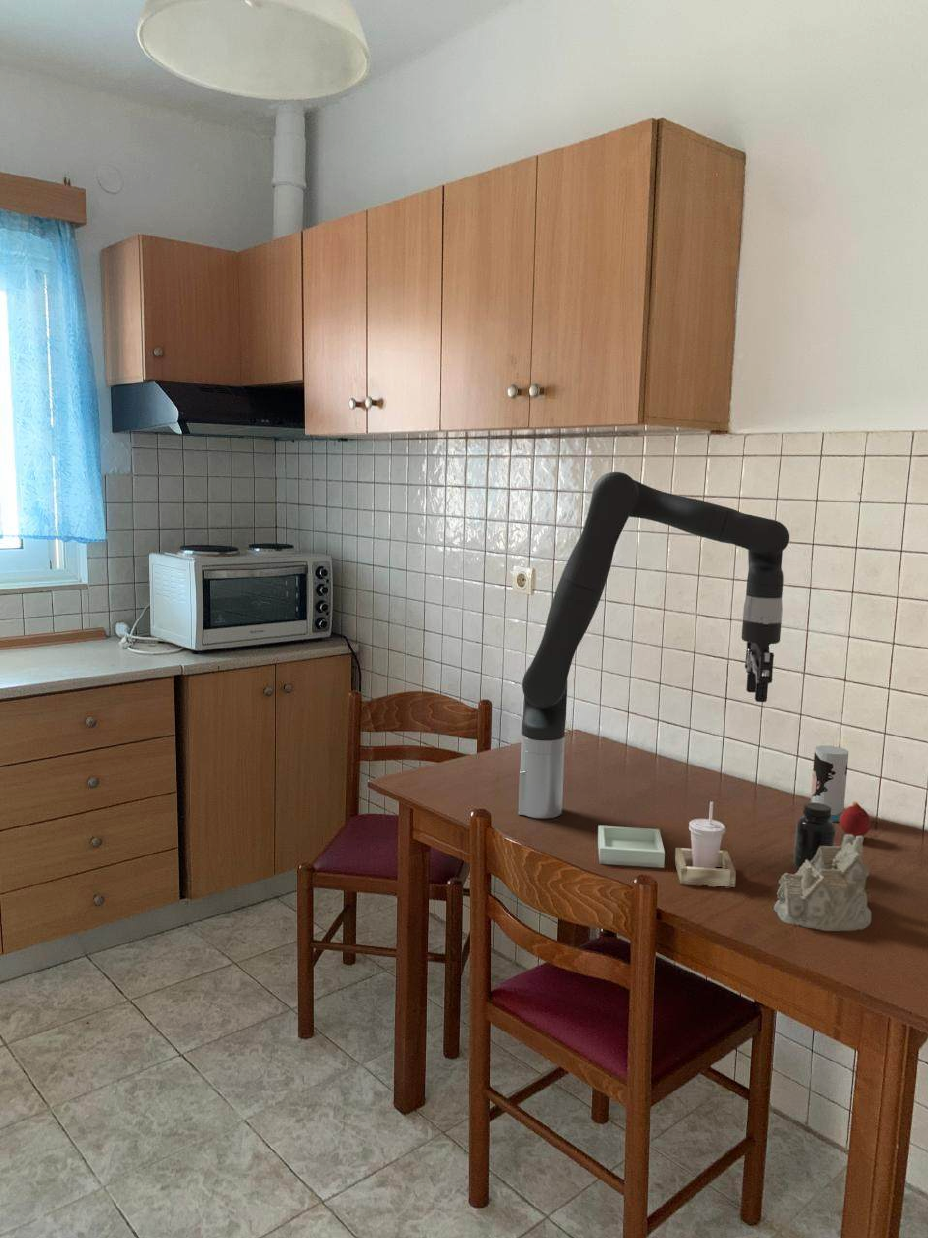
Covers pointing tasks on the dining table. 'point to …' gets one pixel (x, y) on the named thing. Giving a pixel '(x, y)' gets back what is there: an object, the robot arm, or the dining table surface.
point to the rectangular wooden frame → (704, 870)
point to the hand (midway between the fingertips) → (756, 696)
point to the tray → (630, 846)
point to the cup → (830, 778)
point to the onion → (855, 820)
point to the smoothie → (706, 840)
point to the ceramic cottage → (827, 890)
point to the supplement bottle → (813, 832)
